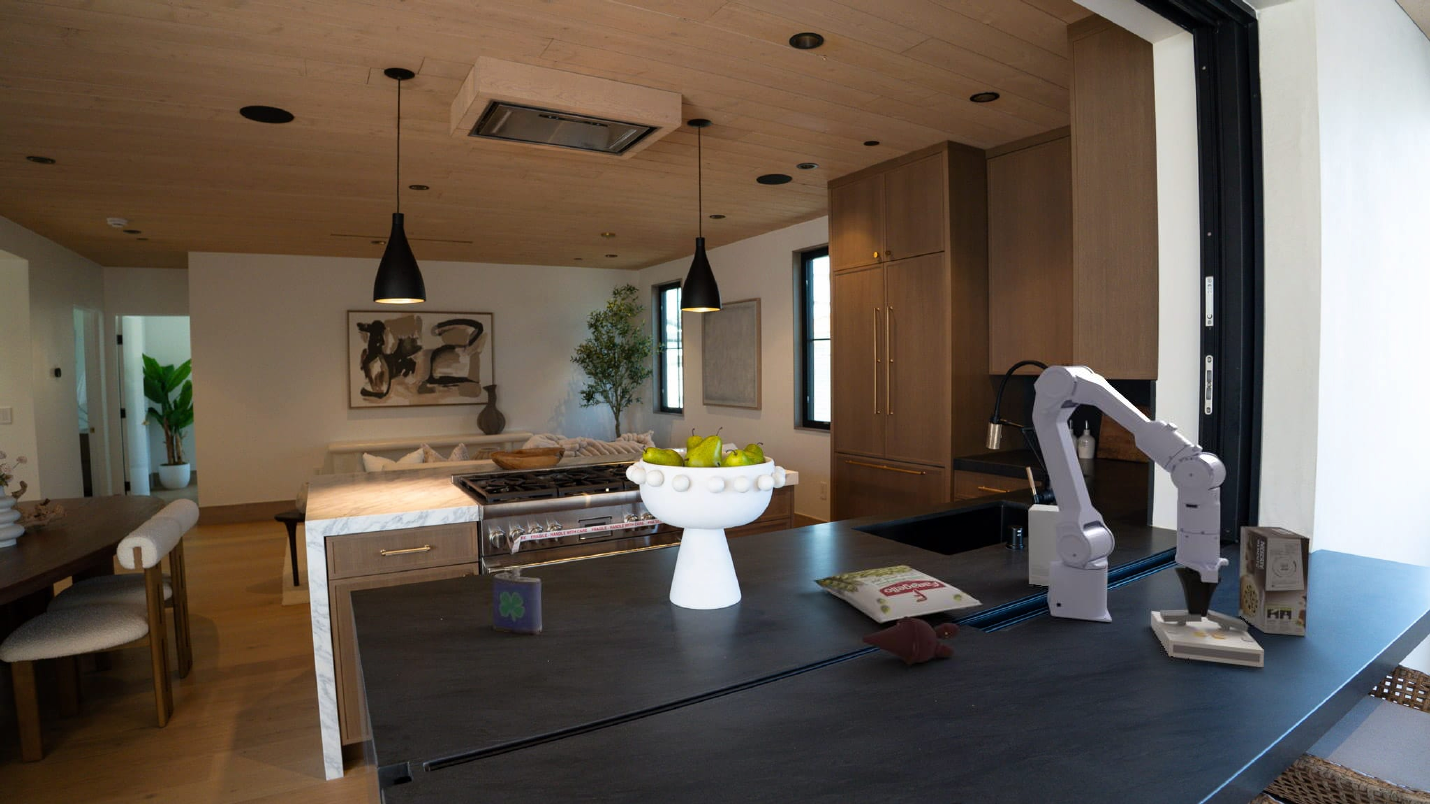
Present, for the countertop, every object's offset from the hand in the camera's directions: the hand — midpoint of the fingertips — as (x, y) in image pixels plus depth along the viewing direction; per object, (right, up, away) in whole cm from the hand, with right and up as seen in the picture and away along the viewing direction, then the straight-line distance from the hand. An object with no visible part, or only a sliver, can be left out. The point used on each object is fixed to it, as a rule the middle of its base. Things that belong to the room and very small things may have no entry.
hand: (1197, 615), depth 119 cm
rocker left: (-2, -1, +1) cm, 3 cm away
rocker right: (+3, -2, -1) cm, 4 cm away
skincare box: (-9, -3, +31) cm, 33 cm away
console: (0, -4, -1) cm, 5 cm away
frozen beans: (-44, -4, +19) cm, 48 cm away
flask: (-110, -5, +7) cm, 110 cm away
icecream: (-47, -5, -7) cm, 48 cm away
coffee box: (+17, -4, +8) cm, 19 cm away
